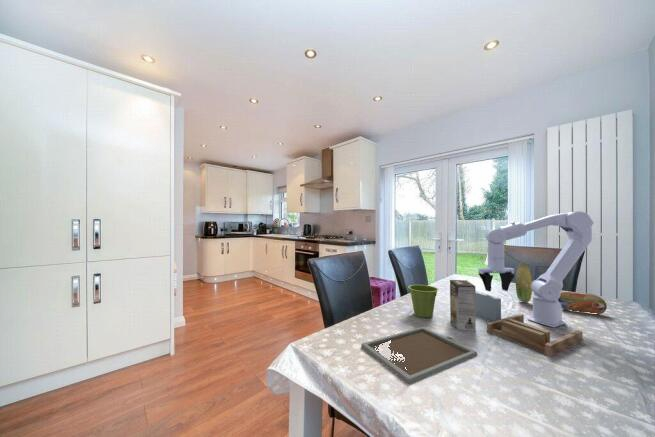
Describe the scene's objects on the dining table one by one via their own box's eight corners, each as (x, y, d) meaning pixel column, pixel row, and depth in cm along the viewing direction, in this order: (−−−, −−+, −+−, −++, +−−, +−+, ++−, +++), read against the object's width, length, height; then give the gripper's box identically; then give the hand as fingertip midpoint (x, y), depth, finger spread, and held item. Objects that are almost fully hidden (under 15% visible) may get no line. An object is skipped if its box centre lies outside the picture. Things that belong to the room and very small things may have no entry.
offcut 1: (505, 333, 82) (505, 320, 82) (545, 348, 72) (544, 333, 73) (501, 334, 81) (501, 321, 82) (541, 349, 72) (541, 334, 72)
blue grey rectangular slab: (475, 311, 104) (475, 290, 104) (501, 322, 92) (500, 298, 92) (470, 311, 103) (470, 290, 103) (496, 322, 91) (495, 299, 92)
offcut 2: (510, 331, 84) (510, 318, 84) (550, 345, 74) (550, 331, 74) (507, 332, 83) (507, 319, 83) (547, 347, 73) (546, 332, 73)
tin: (557, 309, 105) (557, 291, 106) (555, 307, 108) (555, 289, 108) (607, 316, 98) (606, 296, 98) (603, 314, 100) (603, 294, 100)
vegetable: (536, 304, 112) (535, 262, 113) (525, 305, 111) (524, 262, 112) (523, 300, 118) (522, 260, 119) (513, 301, 117) (512, 260, 118)
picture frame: (361, 343, 73) (428, 324, 86) (360, 348, 73) (428, 329, 86) (408, 379, 56) (482, 349, 69) (408, 386, 56) (482, 354, 69)
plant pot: (440, 313, 101) (440, 286, 101) (436, 322, 91) (436, 293, 91) (411, 307, 107) (411, 283, 108) (405, 316, 97) (405, 288, 98)
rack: (520, 321, 92) (519, 313, 92) (582, 341, 77) (582, 331, 77) (486, 331, 83) (486, 323, 83) (550, 356, 67) (550, 346, 67)
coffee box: (449, 319, 94) (449, 279, 94) (467, 321, 92) (466, 280, 93) (457, 329, 85) (456, 284, 85) (477, 331, 83) (476, 285, 84)
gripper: (487, 259, 94) (487, 293, 94) (520, 259, 96) (521, 292, 95) (474, 257, 101) (475, 288, 101) (505, 256, 103) (506, 288, 102)
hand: (496, 290), depth 98 cm, fingers open, 7 cm apart
